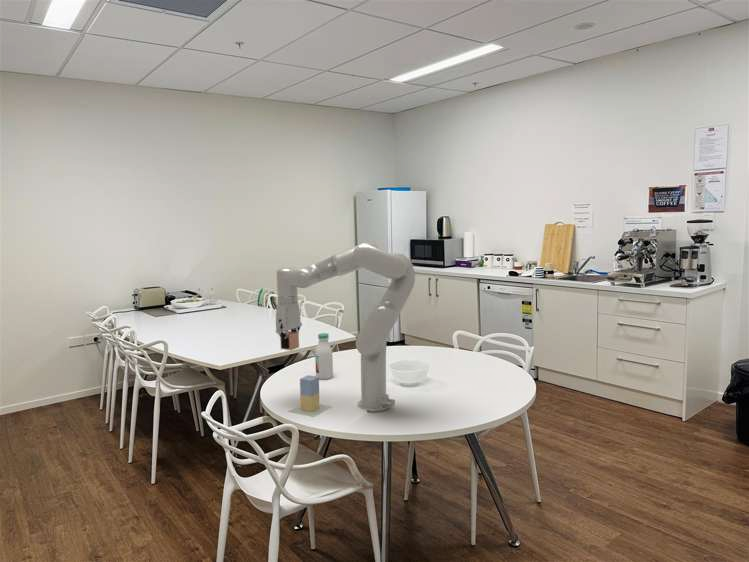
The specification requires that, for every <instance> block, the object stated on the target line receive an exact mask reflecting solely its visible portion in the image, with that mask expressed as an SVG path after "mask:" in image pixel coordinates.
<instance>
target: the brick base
mask: <svg viewBox="0 0 749 562" xmlns="http://www.w3.org/2000/svg"><path fill="white" fill-rule="evenodd" d="M299 396H300V398H299V399H300V405H301V410H304V411H309V412H313V411H315V410H317V409H318V408H320V406H319V404H320V392H319V393H317V394H315V395H313V396H306V395H301V394H300V395H299Z"/></svg>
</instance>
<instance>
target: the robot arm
mask: <svg viewBox="0 0 749 562" xmlns="http://www.w3.org/2000/svg"><path fill="white" fill-rule="evenodd" d="M360 269H365V270H368V271H369V272H372V273H375V274H377V275H380V276H382V277H384V278H387V279H389V280H391V281H390V282H389V285H388V287H387V288H386V290H385V292H384V293H383V295H382V298H381V299H380V301H379V302H378V303H377V304H376V305H375V306H374V307H373V309H371V311H370V313H369V315H368V316H367V318H366V320H365V322H364V324H363V325H362V327H361V329H360V331H359V333H358V335H357V336H356V338H355V347H356V350H357V351H358V353H359V354H360V392H361V395H360V396H361V400H359V401H358V402H357V407H358V408H359V409H362V410H365V411H367V413H370V412H371V413H375V412H377V413H378V412H382V411H387V410H388V409H389V408H391V407H392V408H393V407H395V404H396V399H393V398H390V397H389V396H390V395H389V394H388V393H387V338H388V336H389V335H390V334H391V331H392V330H393V329H394V326H395V324H396V323H397V321H398V319H399V317H400V314H401V312H402V310H403V308H404V307H405V305H406V302H407V301H408V300H409V297H410V295H411V293H412V292H413V288H414V285H415V281H416V272H415V271H416V270H415V267H414V265H413V263H412V261H411V260H410V259H409V257H407V256H406V255H405V254H403V253H393V254H392V253H390V252H387V251H385V250H382V249H380V248H379V247H378V245H377V244H376V243H374V242H373V241H365V242H363V243H359V244H358V245H354V246H353V247H349V248H347V249H345V250H342V251H340V252H337V253H335V254H333V255H330V257H327V258H325V259H323V260H321V261H318V262H316V263H313V264H310V265H306V266H304V267H300V268H297V269H296V268H294V267H282V268H281V267H280V268H278V269H277V270H276V285H277V286H276V288H277V289H276V291H277V305H276V310H275V333H276V334H277V335H278V336H279V339H280V338H281V342H280V346H281V345H282V348H286V349H288V348H289V338H287V337H288V331H292V332H298V333H300V330H301V327H302V325H303V323H302V322H301V310H300V305H299V301H298V300H299V297H298V288H299V289H307V288H309V287H312V286H313V285H316V284H318V283H322V282H323V281H326V280H329V279H332V278H334V277H338V276H339V277H341V276H344V275H347V274H350V273H352V272H356V271H357V270H360ZM284 332H285V334H284Z"/></svg>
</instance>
